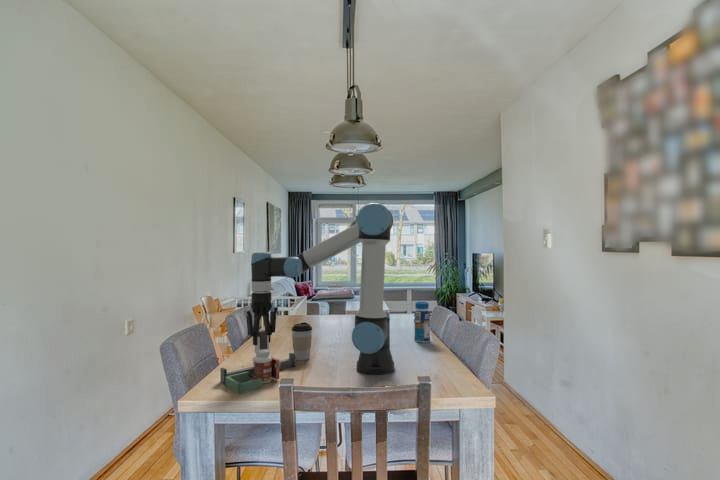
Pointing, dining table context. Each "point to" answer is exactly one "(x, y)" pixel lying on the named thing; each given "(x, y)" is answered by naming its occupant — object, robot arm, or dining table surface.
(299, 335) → the coffee cup
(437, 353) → the dining table surface
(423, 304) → the beverage bottle
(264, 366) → the pill bottle
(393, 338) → the dining table surface
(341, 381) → the dining table surface
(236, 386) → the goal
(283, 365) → the rail
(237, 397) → the dining table surface
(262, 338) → the kicker
